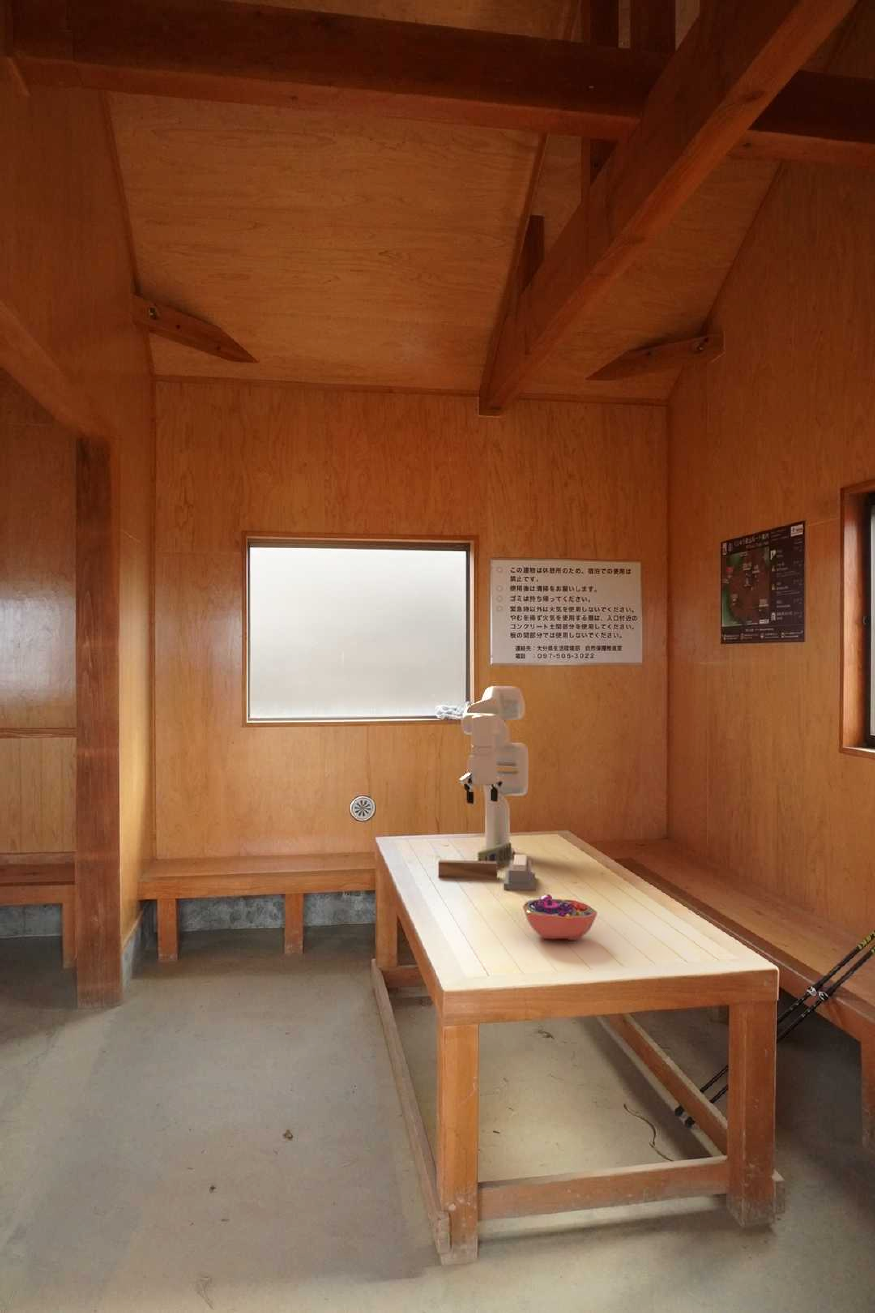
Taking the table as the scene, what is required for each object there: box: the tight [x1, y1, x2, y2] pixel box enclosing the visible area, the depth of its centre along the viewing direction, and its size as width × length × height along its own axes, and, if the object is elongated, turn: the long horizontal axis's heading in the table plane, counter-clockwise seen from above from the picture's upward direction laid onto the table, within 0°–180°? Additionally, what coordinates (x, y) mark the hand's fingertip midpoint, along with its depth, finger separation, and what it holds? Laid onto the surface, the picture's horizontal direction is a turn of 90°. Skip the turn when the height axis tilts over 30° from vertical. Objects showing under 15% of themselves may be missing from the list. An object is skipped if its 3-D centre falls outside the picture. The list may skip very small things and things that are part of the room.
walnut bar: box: [437, 859, 498, 880], centre depth 284 cm, size 4×20×6 cm, turn 84°
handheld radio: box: [476, 842, 513, 866], centre depth 299 cm, size 7×3×25 cm
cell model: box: [522, 893, 598, 941], centre depth 222 cm, size 17×20×11 cm
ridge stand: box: [503, 854, 536, 892], centre depth 276 cm, size 16×10×8 cm, turn 173°
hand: (482, 802), depth 279 cm, fingers open, 9 cm apart
